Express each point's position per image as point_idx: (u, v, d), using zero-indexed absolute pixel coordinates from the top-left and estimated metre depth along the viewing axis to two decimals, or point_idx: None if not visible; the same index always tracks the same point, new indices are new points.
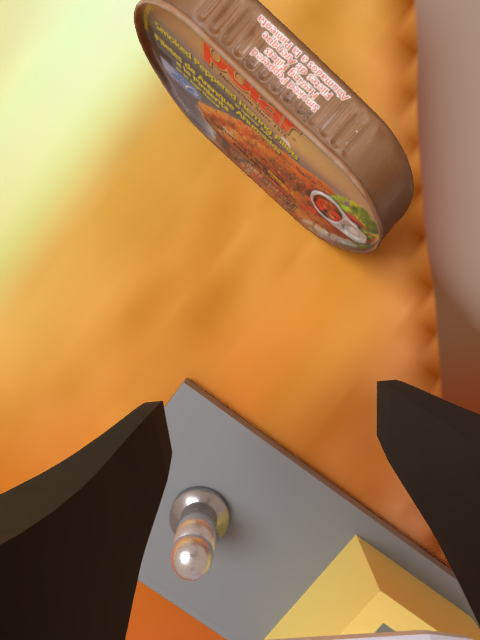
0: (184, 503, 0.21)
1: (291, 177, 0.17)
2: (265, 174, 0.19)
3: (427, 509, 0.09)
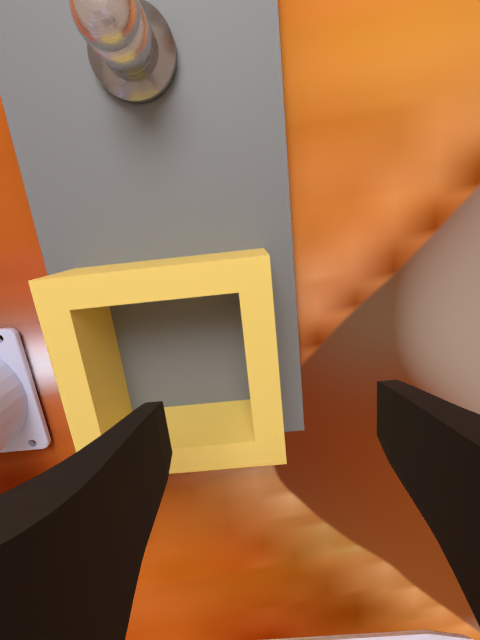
0: None
1: None
2: None
3: (427, 509, 0.09)
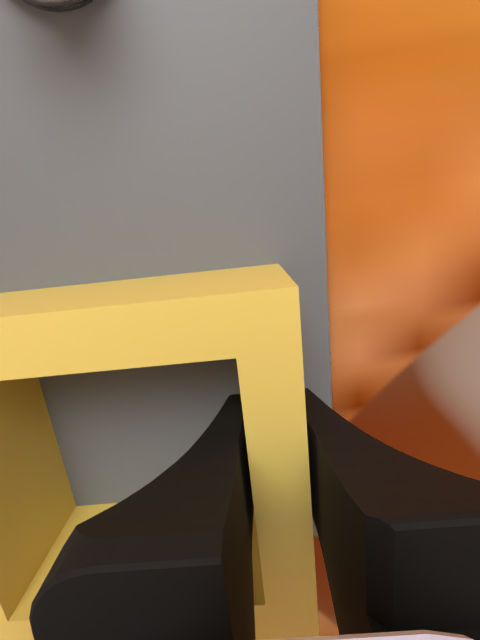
0: None
1: None
2: None
3: (315, 517, 0.09)
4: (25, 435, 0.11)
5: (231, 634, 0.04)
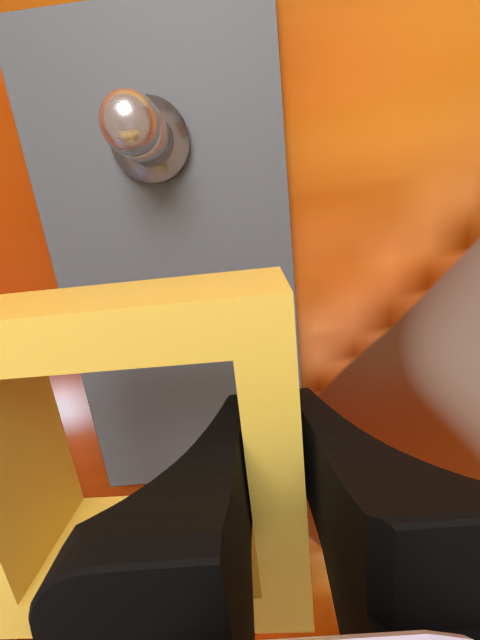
0: None
1: None
2: None
3: (316, 517, 0.09)
4: (35, 429, 0.11)
5: (230, 633, 0.04)
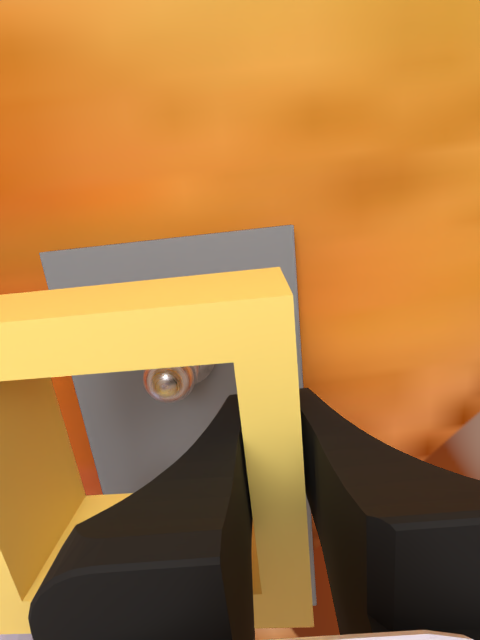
0: None
1: None
2: None
3: (316, 517, 0.09)
4: (37, 429, 0.11)
5: (229, 634, 0.04)
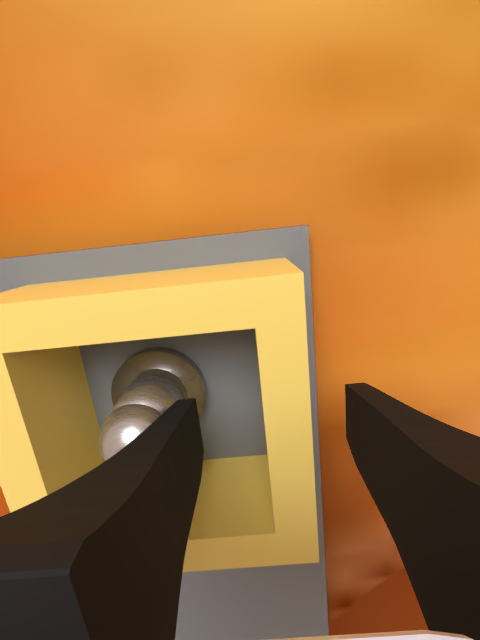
0: (159, 364, 0.13)
1: None
2: None
3: (387, 512, 0.09)
4: (73, 401, 0.13)
5: None
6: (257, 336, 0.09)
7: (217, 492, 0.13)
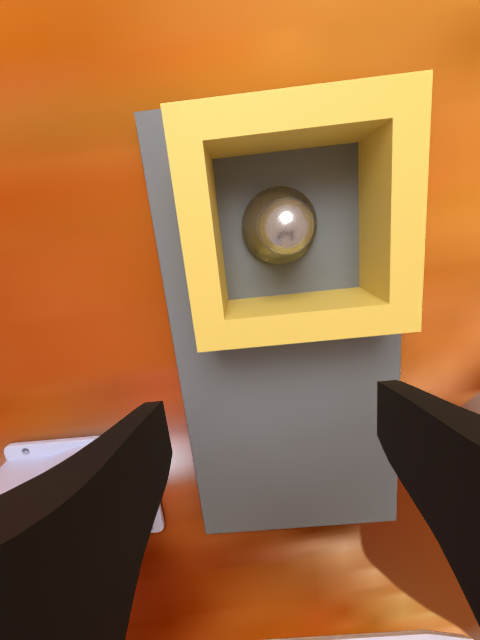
0: (283, 197, 0.17)
1: None
2: None
3: (427, 509, 0.09)
4: (217, 222, 0.16)
5: None
6: (393, 124, 0.13)
7: (329, 298, 0.17)
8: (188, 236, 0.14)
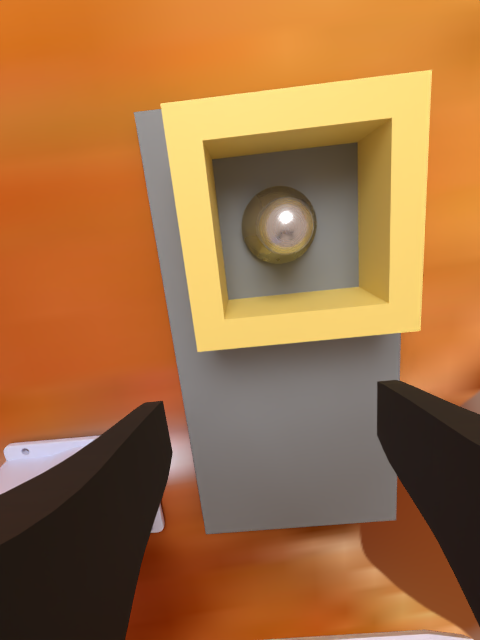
0: (283, 196, 0.17)
1: None
2: None
3: (427, 509, 0.09)
4: (217, 222, 0.16)
5: None
6: (393, 124, 0.13)
7: (329, 298, 0.17)
8: (188, 236, 0.14)
